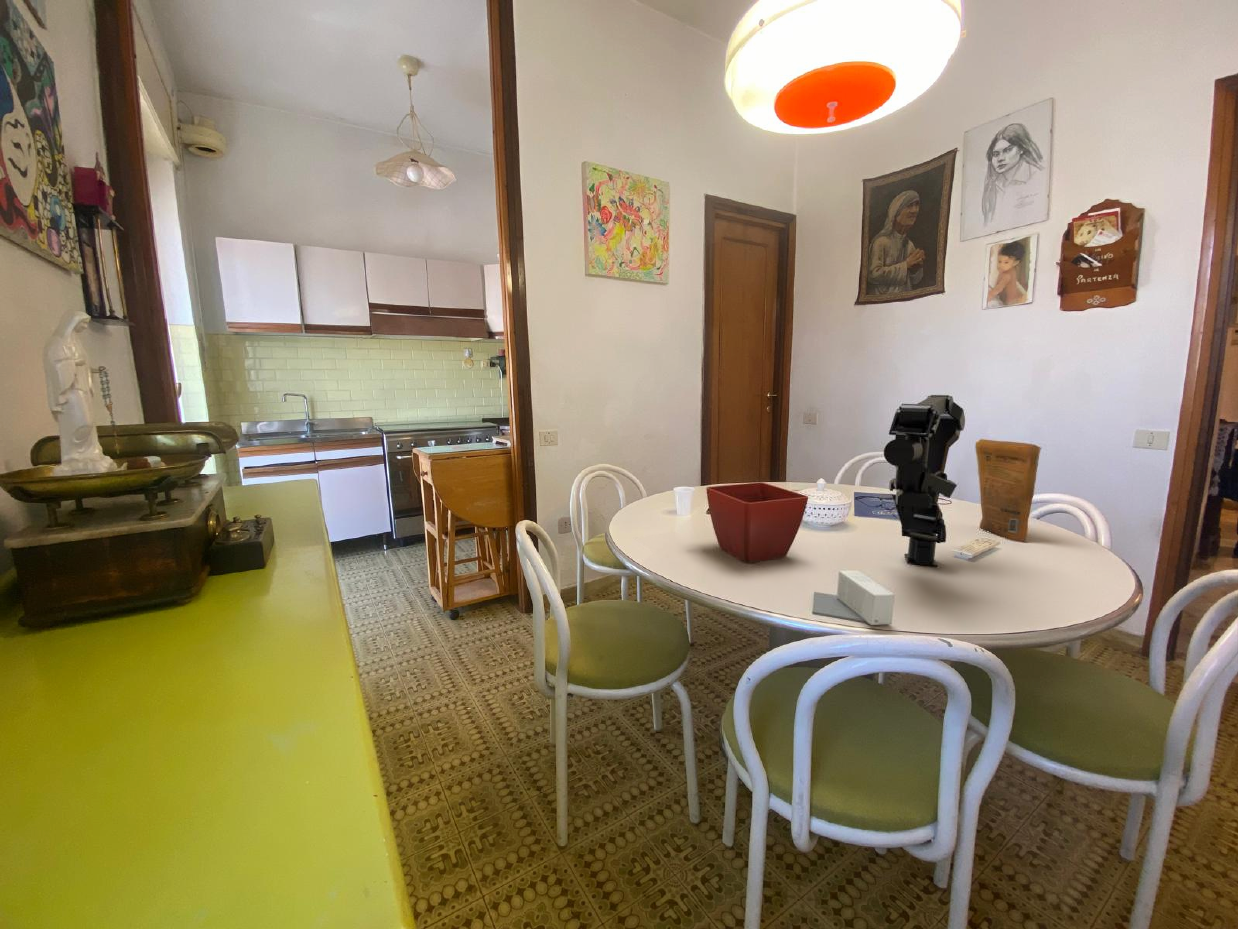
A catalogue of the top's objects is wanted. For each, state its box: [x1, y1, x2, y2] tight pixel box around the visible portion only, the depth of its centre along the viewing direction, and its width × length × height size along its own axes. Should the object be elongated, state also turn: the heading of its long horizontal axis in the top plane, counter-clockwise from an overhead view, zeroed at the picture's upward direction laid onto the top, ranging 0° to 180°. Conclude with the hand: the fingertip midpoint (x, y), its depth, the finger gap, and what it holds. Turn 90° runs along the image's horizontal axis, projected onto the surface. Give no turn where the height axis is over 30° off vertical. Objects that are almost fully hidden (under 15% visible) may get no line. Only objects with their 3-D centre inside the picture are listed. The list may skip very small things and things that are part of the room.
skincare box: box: [836, 570, 895, 626], centre depth 96 cm, size 6×4×12 cm
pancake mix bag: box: [974, 438, 1042, 543], centre depth 143 cm, size 7×19×28 cm, turn 5°
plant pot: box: [705, 482, 809, 563], centre depth 129 cm, size 19×19×17 cm
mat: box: [812, 591, 869, 624], centre depth 98 cm, size 10×11×1 cm
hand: (905, 529), depth 110 cm, fingers closed
